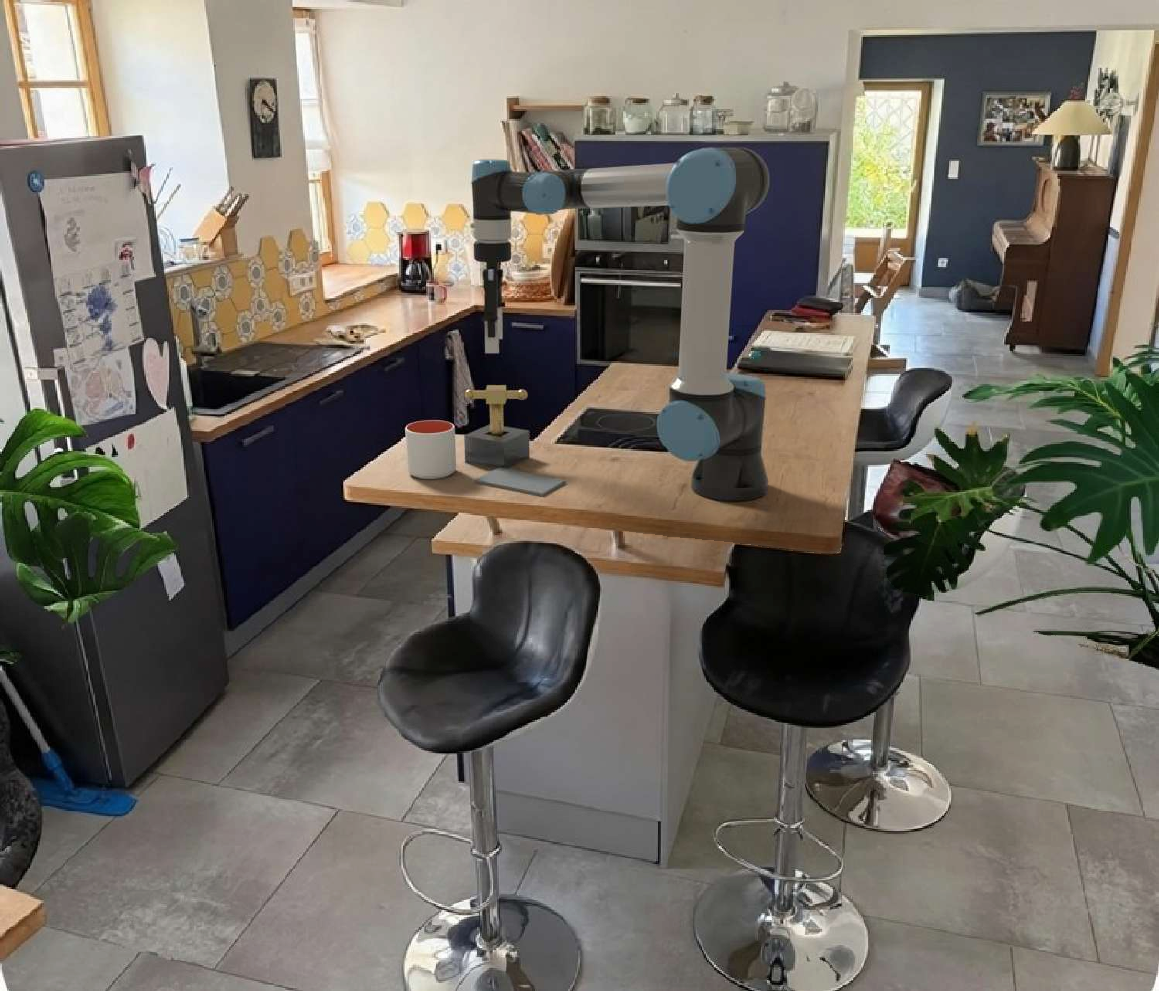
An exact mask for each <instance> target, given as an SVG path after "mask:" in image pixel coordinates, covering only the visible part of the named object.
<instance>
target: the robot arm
mask: <svg viewBox="0 0 1159 991" xmlns="http://www.w3.org/2000/svg"><path fill="white" fill-rule="evenodd" d="M471 167H472V168H471V171H472V172H471V174H472V175H471V192H472V219H473V220H472V223H470V225H469V227H470V229H474V230H473V238H474V240H476V241H474V243H473V259H474V260H475V261H476V262H479V263H485V264H486V265H485V268H483V270H482V280H483V285H482V286H483V287H482V288H483V291H484V295H483V296H484V298H483V299H484V305H483V306H484V307H483V308H484V309H483V310H484V312H483V316H480V321H481V322H484V351H485V352H484V354H500V346H499V345H500V340H503V336H504V335H503V308H506V301H504V300H503V299H504V298H503V290H502V287H503V278H504V269H503V268H502V266H501V265H502V263H507V262H509V261H511V259H512V243H511V242H510V241H509V240H511V239H512V212H515V213H517V212H518V213H524V214H525V213H526V214H533V215H539V216H540V215H554V214H556V213H558V211H561V210H562V211H566V210H576V209H577V210H579V209H581V210H582V209H596V208H597V209H598V208H599V209H600V208H629V207H630V208H631V207H633V208H634V207H654V206H655V207H659V206H660V207H661V206H665V207H666V206H669V208H670V209H671V211H672V214H673V215H675V217H676V223H675V224H676V227H675V229H676V230H675V231H676V232H677V233H678V234H679V235H680V237H682V239H683V241H684V246H683V247H684V248H683V269H682V289H681V291H682V293H681V311H680V312H681V313H680V314H681V315H680V333H679V352H678V353H679V356H678V374H677V375H676V376H675V377H674V378H673V379H672V380H671V381H670V383H669V392H668V395H669V396H668V403H667V404H666V405H664V407H663V408H662V409H661V410H660V412H659V414H658V416H657V420H656V429H657V431H656V432H657V434H658V437H659V440H660V442H661V444H662V446H663V447H665V448H666V449H667V451H668V452H669V453H670V454H671V455H672V456H674V457H675V458H677V459H679V460H682V461H684V462H696V464H695V466H694V468H693V471H692V474H691V478H690V479H691V484H690V485H691V486H690V487H691V490H692V491H693V492H694V493H696V494H698V495H700V496H702V497H706V498H709V499H713V500H717V501H726V502H728V501H729V502H741V501H740V500H745V501H751V499H752V500H755V498H756V499H758V498H757V497H759V498H761V496H762V497H764V496H765V495H766V494H767V493H768V488H769V479H768V475H767V471H766V467H765V463H764V460H763V459H764V458H763V455H762V444H763V432H764V420H765V419H764V418H765V410H766V409H765V407H766V400H767V396H766V384H765V381H763V380H762V379H761V378H758V377H757V376H753V375H752V376H751V375H746V374H739V373H728V372H727V366H728V365H727V364H728V350H729V348H728V347H729V334H730V332H729V330H730V318H731V316H730V315H731V303H732V302H731V301H732V288H733V286H732V285H733V272H734V270H733V269H734V268H733V267H734V256H735V254H734V253H735V242H736V240H737V239H738V238H739V237H741V235H743V234H744V231H745V225H746V224H745V222H746V221H745V220H746V215H747V214H749V213H751V212H752V211H754V210H756V209H757V208H758V207H759V206H760V205H761V204H762V203H763V201H764V200H765V198H766V197H767V194H768V191H769V188H770V182H771V181H770V180H771V179H770V173H769V168H768V165H767V164H766V163H765V161H764V159H763V158H762V157H761V156H760V155H759V154H758V153H756V152H755V151H753V150H752V149H749V148H745V147H741V146H735V147H734V146H733V147H732V146H731V147H702V148H699V149H695V150H692V151H690V152H687V153H685V154H684V155H683V156H681V157H680V158H679V159H678V160H677V161H676V162H673V163H672V162H671V163H657V164H643V165H642V164H641V165H625V166H611V167H609V166H608V167H597V168H574V169H565V170H563V169H562V170H550V171H549V170H548V171H533V172H532V171H514V170H512V169H511V162H510V161H509V160H507V159H497V158H496V159H492V158H491V159H489V158H488V159H486V158H485V159H477V160H475V161H473V164H472V166H471ZM766 492H767V493H766ZM765 493H766V494H765ZM764 494H765V495H764Z"/></svg>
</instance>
